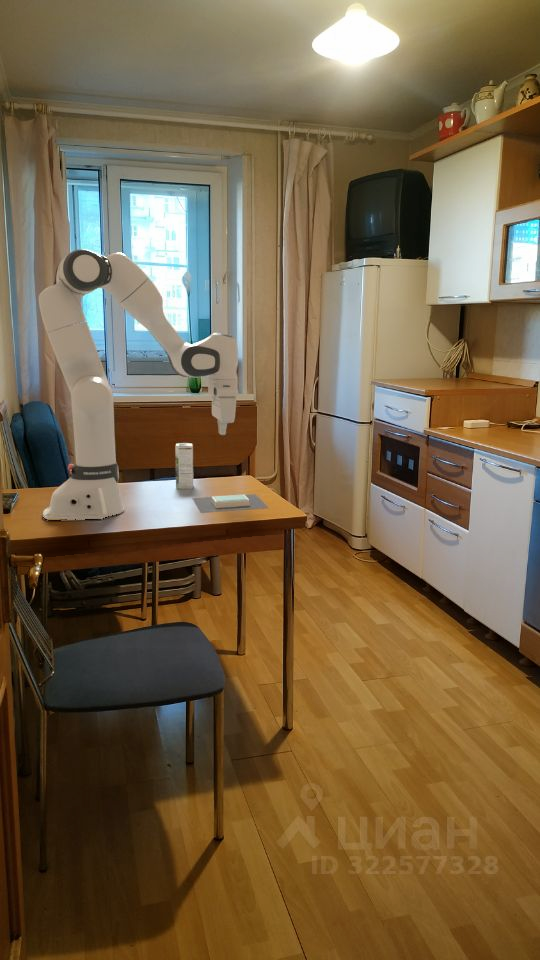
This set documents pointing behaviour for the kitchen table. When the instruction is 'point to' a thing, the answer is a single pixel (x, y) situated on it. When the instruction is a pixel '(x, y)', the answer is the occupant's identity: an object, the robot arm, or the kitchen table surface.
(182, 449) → the syrup box
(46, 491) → the kitchen table surface
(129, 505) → the kitchen table surface
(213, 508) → the mat
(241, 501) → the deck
